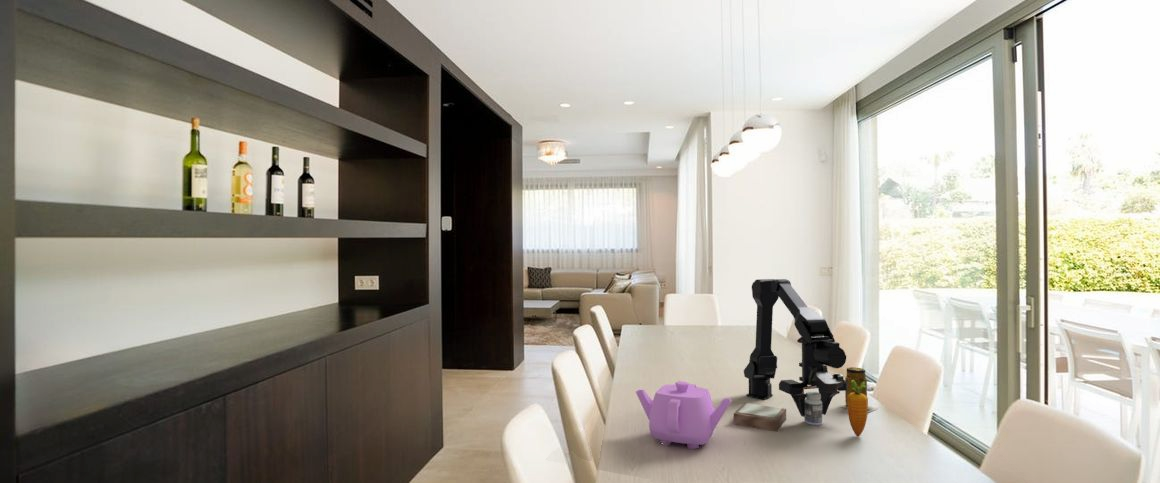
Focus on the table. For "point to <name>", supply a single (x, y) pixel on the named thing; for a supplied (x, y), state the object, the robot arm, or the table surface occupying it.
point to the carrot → (857, 408)
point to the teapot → (682, 414)
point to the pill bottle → (813, 408)
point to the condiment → (858, 377)
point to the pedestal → (760, 416)
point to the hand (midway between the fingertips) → (813, 415)
